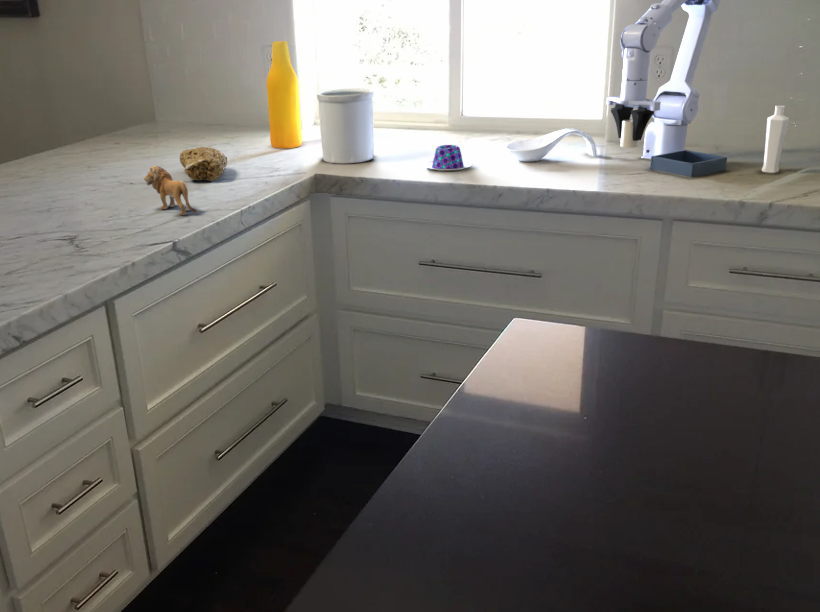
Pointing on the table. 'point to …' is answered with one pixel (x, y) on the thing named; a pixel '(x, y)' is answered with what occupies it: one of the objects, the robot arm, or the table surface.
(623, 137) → the cream cylinder
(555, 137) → the spoon rest
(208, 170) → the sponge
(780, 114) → the perfume bottle
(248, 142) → the table surface
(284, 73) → the beer bottle
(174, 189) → the lion figurine
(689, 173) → the bin
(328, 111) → the utensil holder
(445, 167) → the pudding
